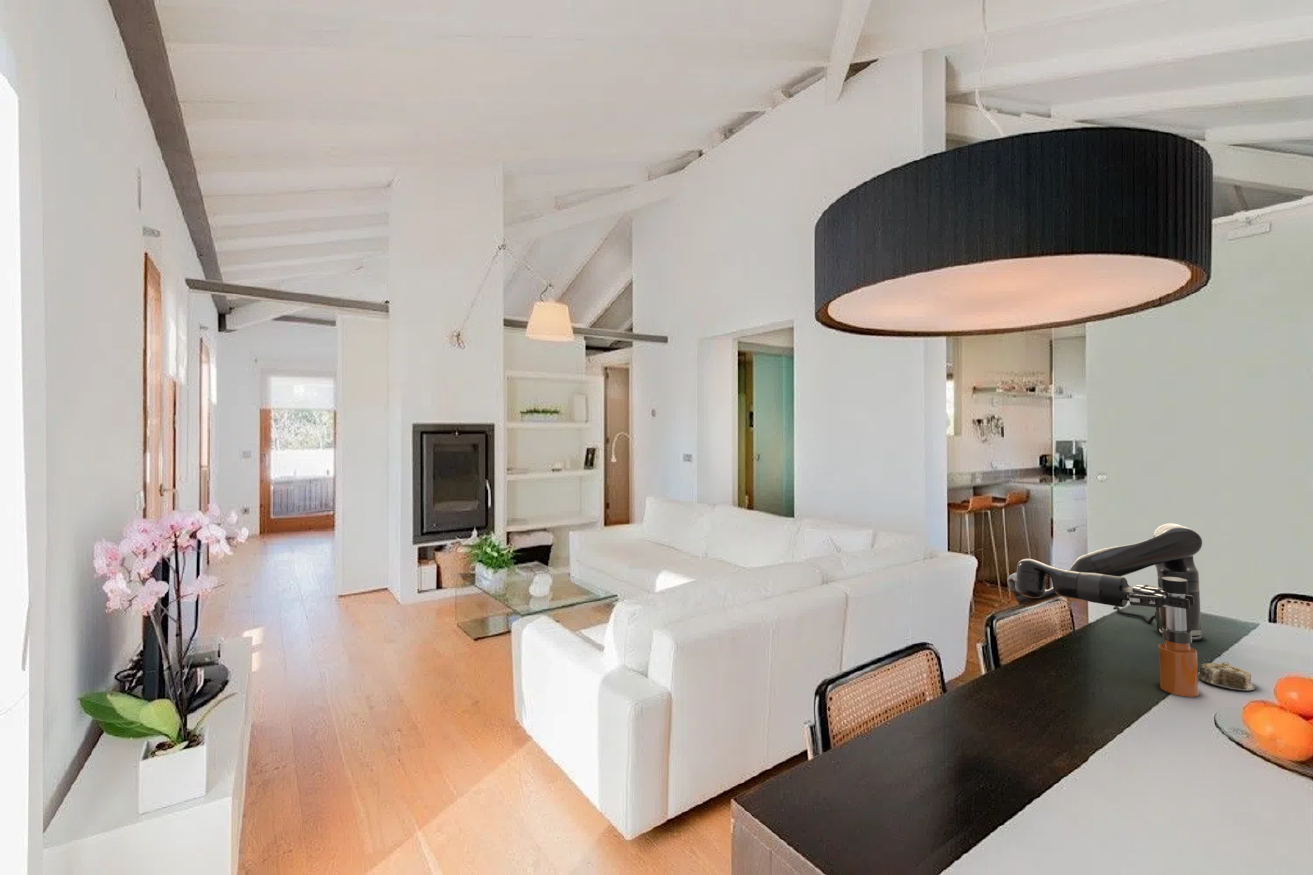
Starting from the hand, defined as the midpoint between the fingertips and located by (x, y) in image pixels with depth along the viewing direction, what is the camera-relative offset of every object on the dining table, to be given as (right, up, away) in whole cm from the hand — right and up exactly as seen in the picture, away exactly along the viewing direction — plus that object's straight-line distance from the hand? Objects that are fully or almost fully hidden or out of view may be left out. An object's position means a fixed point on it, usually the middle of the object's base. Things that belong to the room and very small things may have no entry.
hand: (1191, 602), depth 134 cm
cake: (+13, -21, +5) cm, 25 cm away
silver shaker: (-1, -7, +2) cm, 8 cm away
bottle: (-1, -22, +2) cm, 22 cm away
